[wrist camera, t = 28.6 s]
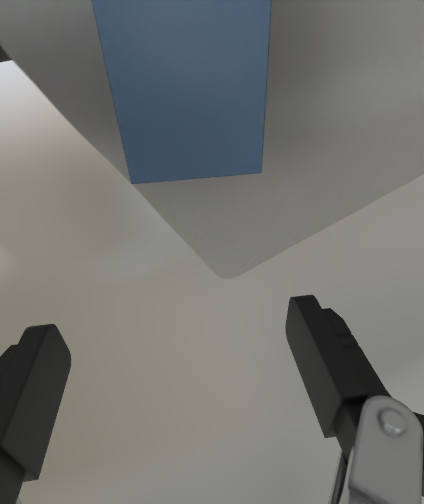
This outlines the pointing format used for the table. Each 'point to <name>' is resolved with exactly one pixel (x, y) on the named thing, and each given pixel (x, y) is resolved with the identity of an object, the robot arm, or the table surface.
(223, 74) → the blue drawer cabinet
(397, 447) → the robot arm
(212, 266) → the table surface
